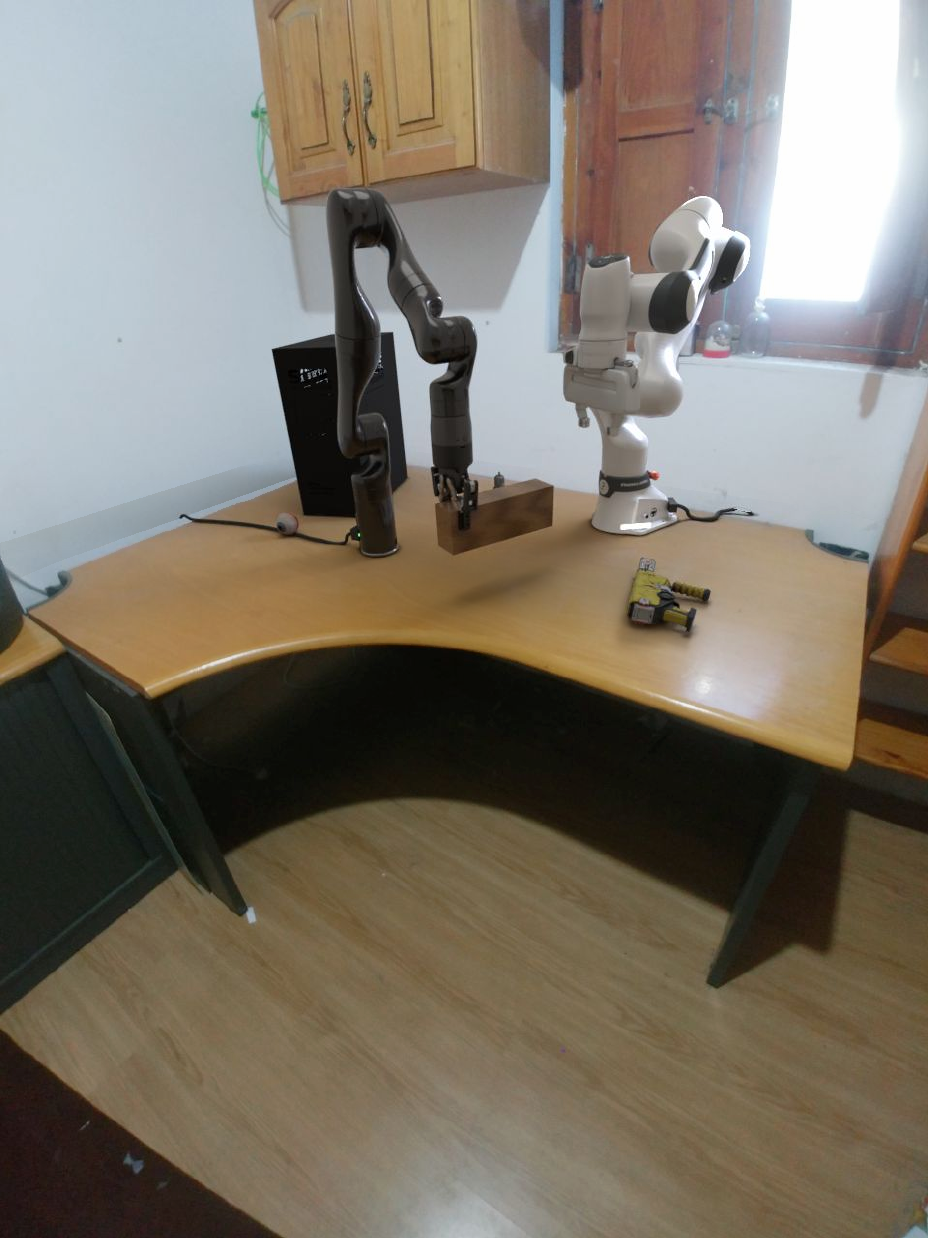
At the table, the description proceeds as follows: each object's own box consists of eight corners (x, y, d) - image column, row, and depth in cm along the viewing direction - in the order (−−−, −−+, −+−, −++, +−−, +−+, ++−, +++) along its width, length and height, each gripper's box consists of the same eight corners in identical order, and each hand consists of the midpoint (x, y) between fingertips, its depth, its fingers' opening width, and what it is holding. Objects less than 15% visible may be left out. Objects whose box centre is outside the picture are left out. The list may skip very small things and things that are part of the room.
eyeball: (273, 537, 164) (268, 516, 161) (287, 528, 169) (282, 508, 166) (291, 539, 161) (286, 518, 158) (305, 530, 166) (301, 510, 163)
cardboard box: (367, 516, 174) (344, 346, 151) (303, 514, 178) (271, 348, 156) (407, 477, 205) (393, 331, 183) (352, 476, 210) (331, 334, 187)
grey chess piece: (508, 517, 168) (508, 474, 162) (488, 516, 169) (486, 474, 163) (511, 509, 173) (511, 468, 167) (491, 509, 174) (490, 468, 168)
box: (535, 517, 133) (535, 478, 128) (552, 526, 128) (553, 485, 124) (437, 545, 122) (434, 503, 118) (453, 555, 118) (450, 512, 113)
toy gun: (712, 567, 127) (640, 554, 131) (714, 617, 107) (629, 601, 111) (706, 587, 130) (636, 574, 134) (707, 640, 109) (624, 623, 113)
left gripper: (415, 434, 114) (422, 518, 122) (454, 450, 103) (458, 541, 112) (449, 428, 117) (454, 510, 126) (490, 442, 106) (492, 531, 115)
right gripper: (652, 359, 105) (645, 439, 112) (584, 349, 121) (581, 420, 128) (623, 362, 103) (617, 444, 110) (558, 352, 119) (556, 424, 126)
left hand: (456, 524), depth 119 cm, fingers closed on box, 6 cm apart
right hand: (597, 431), depth 119 cm, fingers open, 8 cm apart
